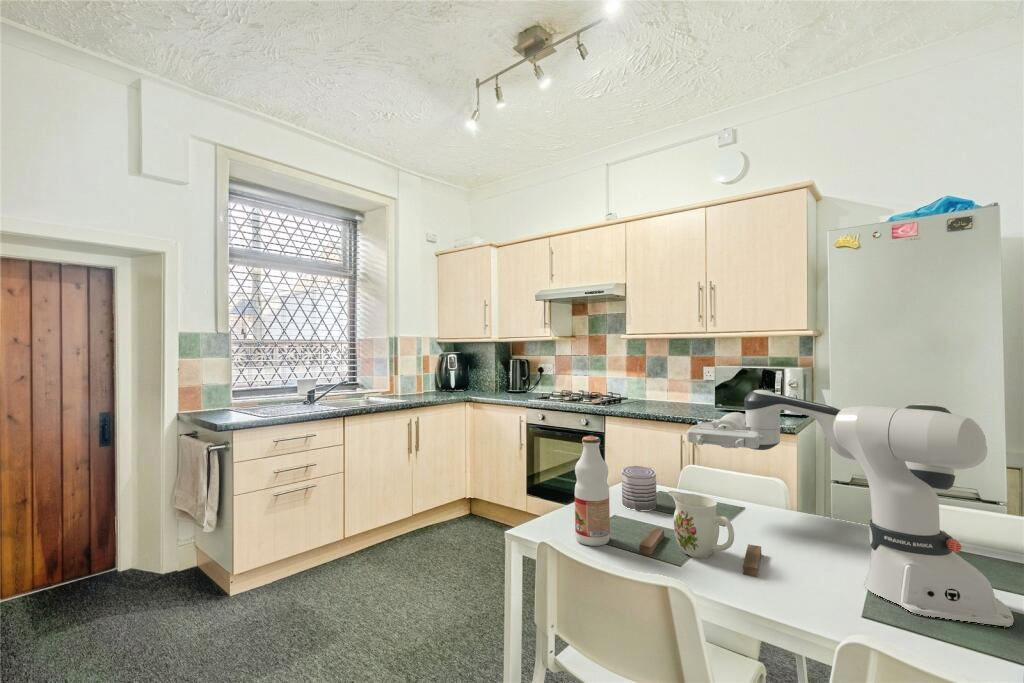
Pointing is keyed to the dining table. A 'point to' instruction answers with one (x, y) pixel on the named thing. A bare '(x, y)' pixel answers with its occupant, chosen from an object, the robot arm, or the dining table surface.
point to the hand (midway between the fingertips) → (716, 443)
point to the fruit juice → (592, 496)
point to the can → (639, 488)
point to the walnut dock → (750, 560)
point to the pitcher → (698, 525)
